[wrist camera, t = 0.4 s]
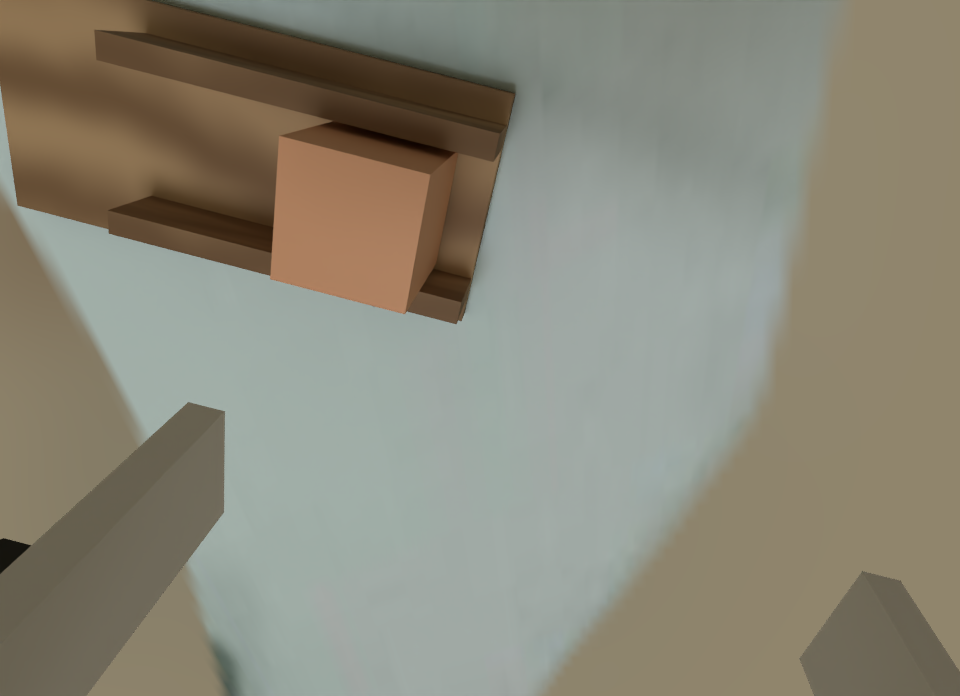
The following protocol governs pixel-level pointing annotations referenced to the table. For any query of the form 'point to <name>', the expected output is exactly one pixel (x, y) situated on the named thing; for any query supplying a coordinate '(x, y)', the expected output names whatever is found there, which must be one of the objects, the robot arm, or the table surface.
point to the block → (359, 213)
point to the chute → (219, 127)
